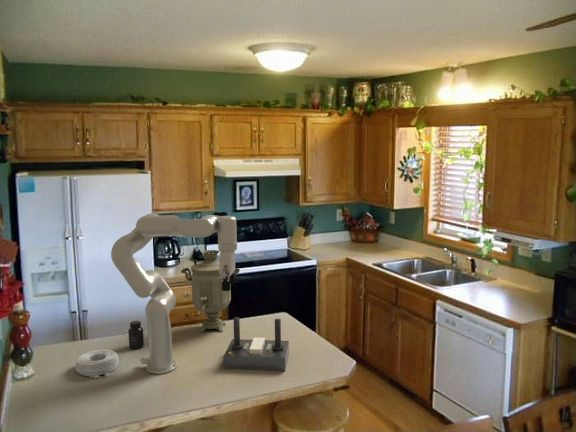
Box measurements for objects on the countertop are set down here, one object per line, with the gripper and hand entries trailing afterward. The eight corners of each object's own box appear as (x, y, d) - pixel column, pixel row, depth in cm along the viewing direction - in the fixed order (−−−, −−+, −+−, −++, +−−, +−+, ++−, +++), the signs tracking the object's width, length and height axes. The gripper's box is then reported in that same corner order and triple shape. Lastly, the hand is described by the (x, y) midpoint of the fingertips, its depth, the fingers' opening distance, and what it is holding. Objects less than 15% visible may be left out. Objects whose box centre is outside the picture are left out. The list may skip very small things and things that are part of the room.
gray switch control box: (224, 368, 226) (223, 353, 225) (232, 351, 244) (232, 337, 243) (285, 371, 224) (285, 355, 222) (289, 353, 241) (288, 339, 240)
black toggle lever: (271, 350, 230) (271, 321, 228) (273, 346, 234) (272, 317, 232) (282, 351, 229) (282, 321, 227) (283, 346, 234) (283, 317, 232)
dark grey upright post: (230, 349, 231) (229, 320, 229) (232, 345, 236) (232, 316, 234) (241, 349, 231) (240, 320, 229) (243, 345, 236) (242, 316, 234)
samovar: (169, 334, 264) (166, 256, 258) (198, 317, 288) (195, 245, 282) (222, 343, 253) (219, 261, 247) (247, 325, 277) (245, 249, 271)
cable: (104, 380, 217) (103, 366, 216) (66, 376, 221) (65, 362, 220) (126, 362, 234) (125, 349, 233) (90, 358, 237) (89, 346, 237)
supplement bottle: (147, 346, 251) (146, 321, 249) (136, 351, 245) (134, 326, 243) (137, 342, 254) (135, 318, 253) (125, 347, 249) (124, 323, 247)
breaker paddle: (249, 364, 227) (249, 349, 226) (254, 352, 240) (254, 337, 239) (261, 365, 227) (260, 349, 226) (265, 352, 240) (265, 337, 238)
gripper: (223, 241, 225) (224, 281, 228) (213, 251, 208) (214, 293, 211) (240, 242, 224) (241, 281, 227) (232, 251, 207) (233, 293, 210)
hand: (228, 287), depth 219 cm, fingers open, 9 cm apart
